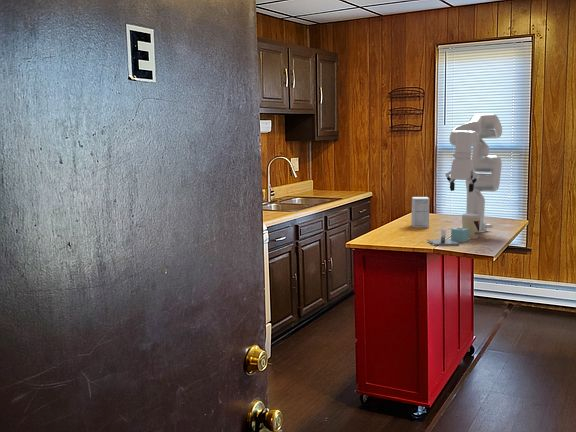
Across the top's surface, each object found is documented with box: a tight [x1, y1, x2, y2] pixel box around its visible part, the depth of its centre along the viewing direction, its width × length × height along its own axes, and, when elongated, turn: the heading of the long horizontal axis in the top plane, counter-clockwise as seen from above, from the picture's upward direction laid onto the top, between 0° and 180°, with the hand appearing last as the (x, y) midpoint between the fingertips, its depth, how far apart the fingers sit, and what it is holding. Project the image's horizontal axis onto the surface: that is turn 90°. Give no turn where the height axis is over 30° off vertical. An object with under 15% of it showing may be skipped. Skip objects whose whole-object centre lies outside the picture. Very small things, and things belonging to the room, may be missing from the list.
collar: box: [450, 227, 469, 243], centre depth 303 cm, size 6×6×6 cm
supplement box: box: [410, 196, 430, 228], centre depth 349 cm, size 10×9×17 cm
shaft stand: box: [426, 228, 460, 247], centre depth 295 cm, size 12×12×7 cm
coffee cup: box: [461, 212, 481, 240], centre depth 312 cm, size 9×9×12 cm
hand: (461, 191), depth 300 cm, fingers open, 9 cm apart
